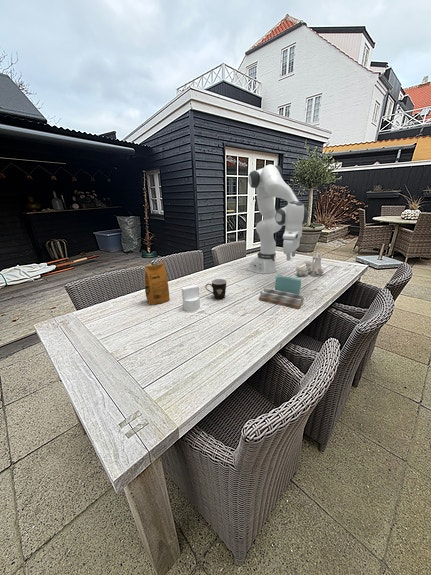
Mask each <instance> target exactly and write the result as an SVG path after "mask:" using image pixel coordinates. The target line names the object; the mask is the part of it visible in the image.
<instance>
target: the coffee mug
mask: <svg viewBox="0 0 431 575" xmlns="http://www.w3.org/2000/svg"><path fill="white" fill-rule="evenodd" d="M227 282H228V281H227V280H226V279H224V278H216V279H213V280H211V283H206V284H205V286H204V287H205V289H206V291H208V292H209V293H212V295H213V299H214V300H219V301H220V300H224V299H225V298H226V290H227V284H228V283H227ZM208 285H209V286H210V287H211V288H212V291H211V290H209V289H208V288H207V286H208Z"/></svg>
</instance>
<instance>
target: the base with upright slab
mask: <svg viewBox="0 0 431 575" xmlns="http://www.w3.org/2000/svg"><path fill="white" fill-rule="evenodd" d="M181 297H182V308H183V310H184V311H186V312H195V311H198V310H200V308H201V301H200V286H199V285H198V284H193V285H192V284H191V285H188V286H183V287H181Z"/></svg>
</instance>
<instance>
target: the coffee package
mask: <svg viewBox="0 0 431 575" xmlns="http://www.w3.org/2000/svg"><path fill="white" fill-rule="evenodd" d="M144 269H145V272H144V273H145V274H144V292H145V298H146V300H147V301H148V304H149V305H151V306H155V305H157V304H158V305H159V304H164V303H166V302H168V301H170V297H171V296H170V290H169V282H168V276H167V271H166V266H165V262H160V263H158V264H155V265H144Z"/></svg>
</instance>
